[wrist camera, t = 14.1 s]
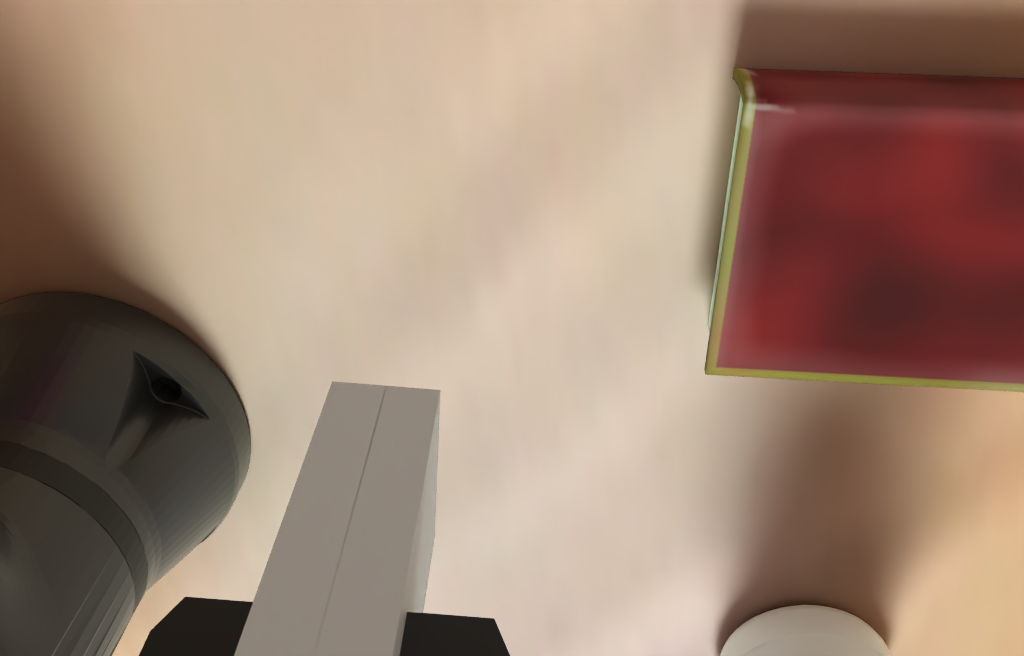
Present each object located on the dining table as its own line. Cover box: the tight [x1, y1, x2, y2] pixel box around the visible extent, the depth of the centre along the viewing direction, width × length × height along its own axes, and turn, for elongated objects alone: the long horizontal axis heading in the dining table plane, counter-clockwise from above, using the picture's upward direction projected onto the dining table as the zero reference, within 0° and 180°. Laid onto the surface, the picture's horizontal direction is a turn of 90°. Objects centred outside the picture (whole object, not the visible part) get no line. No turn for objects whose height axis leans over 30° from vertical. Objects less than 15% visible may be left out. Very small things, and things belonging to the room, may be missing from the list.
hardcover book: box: [705, 68, 1024, 392], centre depth 37 cm, size 12×21×4 cm, turn 89°
